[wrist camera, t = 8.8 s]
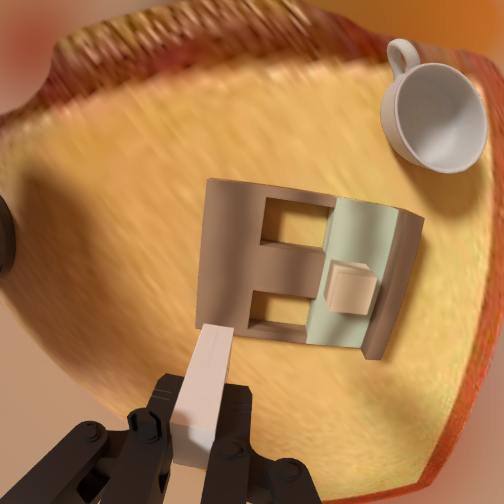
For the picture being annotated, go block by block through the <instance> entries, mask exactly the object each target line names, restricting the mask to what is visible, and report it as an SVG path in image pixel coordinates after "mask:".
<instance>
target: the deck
mask: <svg viewBox="0 0 504 504" xmlns="http://www.w3.org/2000/svg"><path fill="white" fill-rule="evenodd" d="M266 197H270V198H277V199H283V200H290V201H297V202H303V203H310V204H316V205H322V206H328V207H330V210H329V216H328V221H327V227H326V232H325V237H324V242H323V247H322V248H318V247H312V246H305V245H298V244H291V243H284V242H277V241H269V240H262V239H260V238H261V231H262V223H263V216H264V209H265V202H266ZM424 219H425V218H423V217H421V216H419V215H417V214H414V213H412V212H410V211H408V210H405V209H401V208H396V207H392V206H387V205H382V204H377V203H372V202H367V201H362V200H357V199H351V198H346V197H341V196H335V195H329V194H323V193H318V192H312V191H305V190H299V189H293V188H286V187H279V186H272V185H265V184H258V183H250V182H243V181H234V180H226V179H217V178H210V179H207V185H206V195H205V205H204V215H203V226H202V237H201V249H200V262H199V276H198V290H197V307H196V325H195V329H201V330H202V327H203V324H211V325H217V326H224V327H230V328H234V332H233V335H240V336H247V337H254V338H262V339H270V340H279V341H287V342H297V343H306V344H317V345H329V346H341V347H356V348H361V350H362V353H363V355H364V357H365V360H381V358H382V355H383V353H384V350H385V348H386V345H387V343H388V340H389V338H390V335H391V332H392V329H393V327H394V324H395V321H396V318H397V315H398V312H399V310H400V307H401V303H402V300H403V297H404V294H405V291H406V288H407V285H408V281H409V278H410V274H411V271H412V267H413V264H414V260H415V256H416V253H417V249H418V245H419V241H420V237H421V232H422V228H423V224H424ZM331 259H333V260H340V261H347V262H354V263H361V264H366V265H367V266H368V267H369V269H370V270H371V271H372V272H373V273H374V275H375V276H376V277H377V282H376V285H375V289H374V292H373V296H372V299H371V303H370V306H369V309H368V312H367V315H363V314H352V313H343V312H333V311H329V309H328V306H327V303H326V301H325V298H324V295H323V292H324V288H325V283H326V279H327V274H328V270H329V265H330V261H331ZM253 290H256V291H263V292H271V293H279V294H286V295H294V296H302V297H310V298H312V299H311V304H310V308H309V312H308V316H307V321H306V325H296V324H287V323H279V322H271V321H263V320H256V319H249V314H250V308H251V301H252V294H253Z"/></svg>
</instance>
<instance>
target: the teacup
mask: <svg viewBox="0 0 504 504" xmlns="http://www.w3.org/2000/svg"><path fill="white" fill-rule="evenodd" d="M400 52H401V53H402V54H403V56H404V58H405V60H406V64H407V67H406V69H405V68H404V65H403V62H402V59H401V54H400ZM387 54H388V59H389V62H390V65H391V68H392V71H393V78H394V80H395V81H394V82H393V83H392V84H391V85H390V86H389V87H388V89H387V90H386V92H385V94H384V96H383V99H382V102H381V109H380V117H381V124H382V128H383V131H384V134H385V136H386V138H387V140H388V142H389V143H390V145H391V146H392V147H393V149H394V150H395V151H396V152H397V153H398V154H399V155H400V156H401V157H403V158H404V159H405V160H407V161H409V162H411V163H413V164H415V165H418V166H421V167H424V168H428V169H430V170H433V171H435V172H439V173H444V174H455V173H459V172H462V171H465V170H467V169H468V168H470V167H471V166H472V165H474V164H475V163H476V161H477V160H478V159H479V158H480V156H481V154H482V152H483V150H484V148H485V144H486V140H487V134H488V121H487V114H486V110H485V107H484V104H483V101H482V99H481V97H480V95H479V93H478V92H477V90H476V88H475V87H474V85H473V84H472V83H471V82H470V81H469V79H468V78H467V77H466V76H464V75H463V74H462V73H460V72H459V71H458V70H456V69H454V68H452V67H450V66H448V65H445V64H440V63H427V64H422V65H421V63H420V59H419V56H418V53H417V51H416V50H415V48H414V47H413V46H412V44H411V43H409V42H408V41H407V40H404V39H395V40H393V41H391V42H390V43H389V45H388V47H387Z"/></svg>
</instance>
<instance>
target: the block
mask: <svg viewBox="0 0 504 504" xmlns="http://www.w3.org/2000/svg"><path fill="white" fill-rule="evenodd" d="M376 282H377V277H376V276H375V275H374V273H373V272H372V271H371V270H370V269H369V267H368V266H367V265H366V264H361V263H354V262H347V261H340V260H333V259H331V261H330V265H329V270H328V274H327V279H326V283H325V288H324V292H323V295H324V298H325V301H326V303H327V306H328V309H329V311H333V312H343V313H352V314H363V315H367V312H368V309H369V306H370V303H371V299H372V296H373V292H374V289H375V285H376Z"/></svg>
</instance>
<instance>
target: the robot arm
mask: <svg viewBox="0 0 504 504" xmlns="http://www.w3.org/2000/svg"><path fill="white" fill-rule="evenodd" d="M14 256H15V234H14V228H13V224H12V220H11V217H10V214H9V211H8V209H7V206H6V204H5V203H4V201H3V199H2V198H1V196H0V277H2V276H4V275H6V274H7V273H8V272H9V270H10V269H11V267H12V264H13V261H14ZM233 332H234V328H230V327H224V326H217V325H211V324H203V327H202V330H201V333H200V336H199V338H198V341H197V344H196V347H195V350H194V353H193V355H192V358H191V361H190V364H189V367H188V370H187V373H186V375H185V377H182V376H177V375H172V374H167V373H166V374H165V375H164V376H162V377H161V378H160V379H159V380H158V382H157V384H156V386H155V389H154V391H153V393H152V396H151V398H150V400H149V402H148V404H147V407H146V408H139V409H135V410H134V411H132V412H130V414H129V415H128V416H127V419H128V424H129V428H130V429H129V430H125V431H109V430H106V429H105V427H104V426H103V425H102V424H100V423H98V422H95V421H85V422H81V423H80V424H78V425H77V426H75V427H74V428H73V429H72V430H71V431H70V432H69V433H68V434H67V435H66V436H65V437H64V438H63V439H62V440H61V441H60V442H59V443H58V444H57V445H56V446H55V447H54V448H53V449H52V450H51V451H50V452H49V453H48V454H47V455H45V456H44V457H43V458H42V459H41V460H40V461H39V462H38V463H37V464H36V465H35V466H34V467H33V468H32V469H31V470H30V471H29V472H28V473H27V474H26V475H25V476H24V477H23V478H22V479H21V480H19V482H17V483H16V485H14V486H13V487H12V488H11V489H10V490H9V491H8V492H7V493H6V494H5V495H4V496H3V497H2V498H1V499H0V504H97V503H98V502H99V501H100V500H101V501H100V504H163V500H164V497H165V493H166V489H167V485H168V482H169V478H170V466H171V462H172V459H173V463H176V464H180V465H185V466H190V467H196V468H201V469H207V471H206V476H205V482H204V488H203V493H202V498H201V503H200V504H246V501H247V502H249V503H252V504H322V503H321V500H320V498H319V496H318V493H317V491H316V488H315V486H314V483H313V481H312V478H311V476H310V473H309V471H308V469H307V467H306V466H305V465H304V464H303V463H302V462H300V461H299V460H296V459H293V458H282V459H279V460H276V461H273V460H270V459H267V458H264V457H262V456H260V455H258V454H257V453H256V452H255V451H254V450H253V449H252V447H251V445H250V426H251V411H252V396H253V395H252V393H251V391H250V389H249V387H248V386H242V385H235V384H228V383H227V378H228V372H229V365H230V357H231V348H232V340H233Z"/></svg>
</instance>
